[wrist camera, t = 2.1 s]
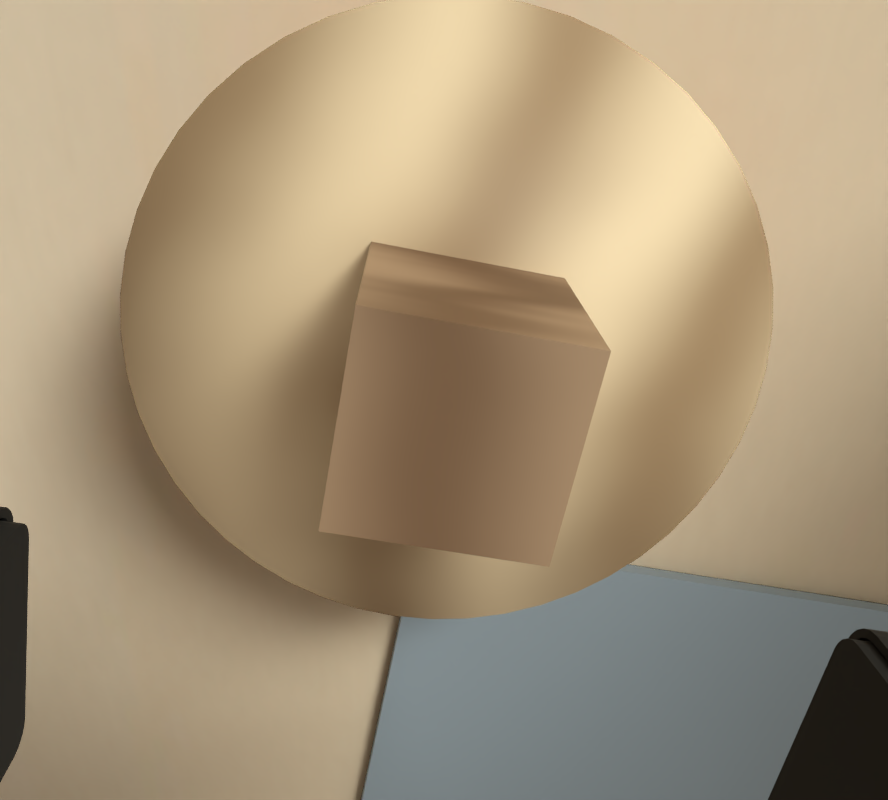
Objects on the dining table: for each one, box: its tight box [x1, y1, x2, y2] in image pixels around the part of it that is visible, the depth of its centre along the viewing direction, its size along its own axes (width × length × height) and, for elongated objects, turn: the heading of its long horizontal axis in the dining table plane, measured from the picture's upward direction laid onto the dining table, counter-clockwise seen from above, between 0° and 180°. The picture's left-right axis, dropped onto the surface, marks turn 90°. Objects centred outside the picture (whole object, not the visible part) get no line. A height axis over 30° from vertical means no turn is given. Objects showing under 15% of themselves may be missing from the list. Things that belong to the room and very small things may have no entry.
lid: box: [120, 0, 773, 619], centre depth 18 cm, size 15×15×7 cm
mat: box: [361, 565, 888, 800], centre depth 33 cm, size 18×15×1 cm
